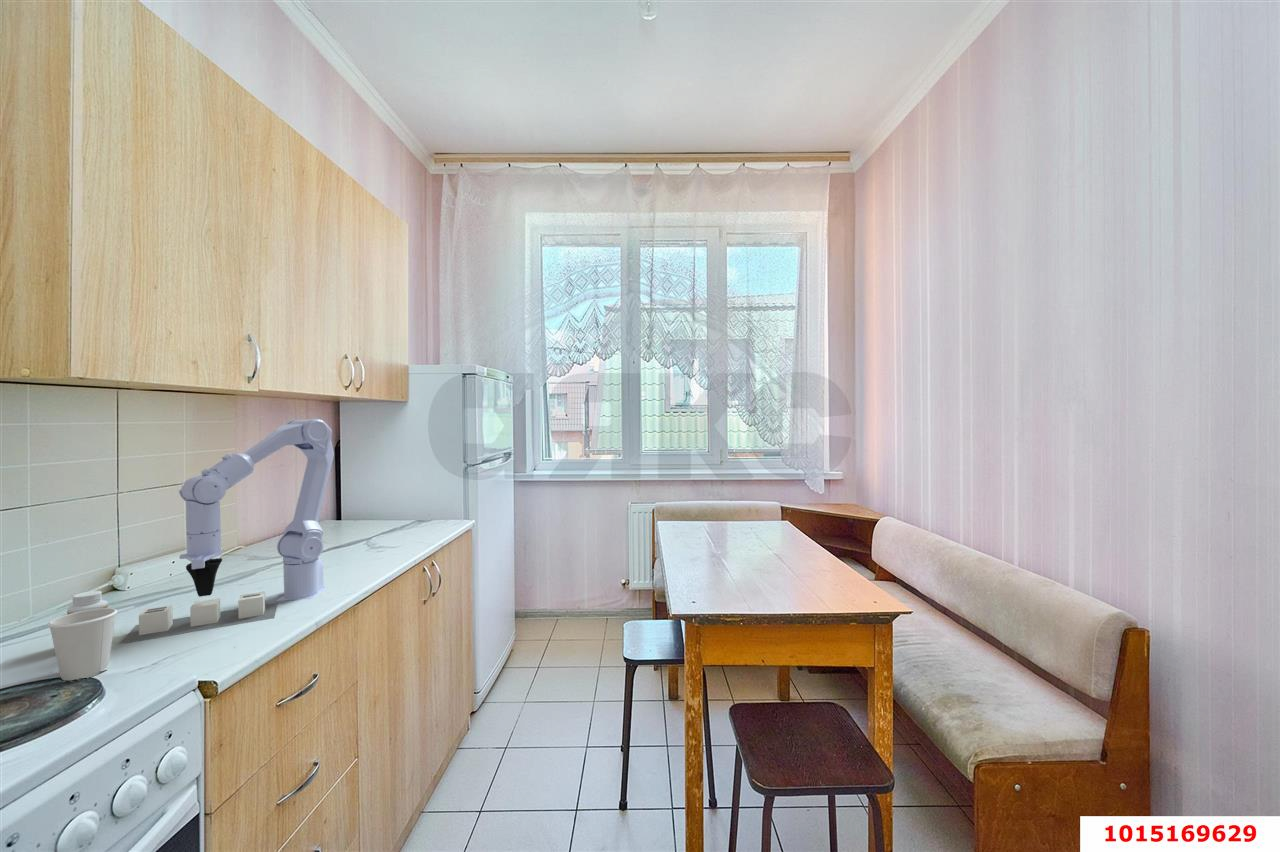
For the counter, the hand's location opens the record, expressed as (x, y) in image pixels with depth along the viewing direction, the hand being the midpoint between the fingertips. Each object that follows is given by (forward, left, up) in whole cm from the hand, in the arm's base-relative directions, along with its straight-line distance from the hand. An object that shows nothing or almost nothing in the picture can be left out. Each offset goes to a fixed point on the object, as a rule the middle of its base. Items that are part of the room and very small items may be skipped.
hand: (205, 595), depth 115 cm
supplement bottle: (+8, -16, -6) cm, 19 cm away
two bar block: (+3, -7, -6) cm, 10 cm away
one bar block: (-3, +8, -6) cm, 10 cm away
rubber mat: (0, 0, -6) cm, 6 cm away
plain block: (0, 0, -6) cm, 6 cm away
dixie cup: (+22, -6, -6) cm, 24 cm away
